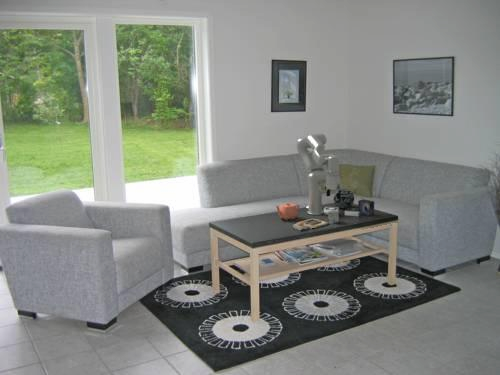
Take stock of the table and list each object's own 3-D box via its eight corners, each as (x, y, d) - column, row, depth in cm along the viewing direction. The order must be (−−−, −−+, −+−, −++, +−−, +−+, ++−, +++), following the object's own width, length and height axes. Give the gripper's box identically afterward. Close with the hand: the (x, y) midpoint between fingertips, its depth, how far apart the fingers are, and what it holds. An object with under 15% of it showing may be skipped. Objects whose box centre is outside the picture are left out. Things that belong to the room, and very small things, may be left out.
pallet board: (295, 224, 375) (295, 221, 374) (312, 219, 385) (312, 216, 384) (311, 229, 362) (311, 226, 362) (329, 224, 372) (329, 221, 372)
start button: (295, 227, 364) (295, 223, 363) (300, 226, 367) (300, 221, 366) (300, 228, 361) (300, 224, 360) (304, 227, 363) (304, 223, 363)
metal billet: (328, 222, 378) (328, 211, 376) (333, 220, 381) (333, 209, 380) (332, 223, 374) (332, 212, 373) (338, 221, 378) (338, 211, 376)
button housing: (293, 228, 365) (293, 224, 364) (300, 226, 369) (300, 222, 368) (300, 231, 359) (300, 226, 359) (307, 229, 363) (307, 224, 363)
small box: (357, 214, 396) (357, 200, 394) (362, 212, 400) (362, 198, 398) (369, 216, 389) (369, 202, 386) (374, 214, 393) (374, 201, 391)
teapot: (295, 215, 399) (295, 199, 396) (303, 219, 388) (303, 203, 385) (271, 218, 391) (271, 203, 389) (278, 222, 380) (278, 206, 378)
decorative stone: (348, 211, 403) (348, 192, 400) (329, 208, 413) (329, 190, 410) (357, 207, 416) (357, 188, 412) (339, 204, 425) (339, 186, 422)
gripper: (320, 172, 374) (320, 196, 378) (339, 176, 361) (338, 200, 365) (328, 171, 379) (328, 194, 383) (346, 174, 366) (346, 198, 369)
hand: (333, 197), depth 374 cm, fingers open, 9 cm apart
